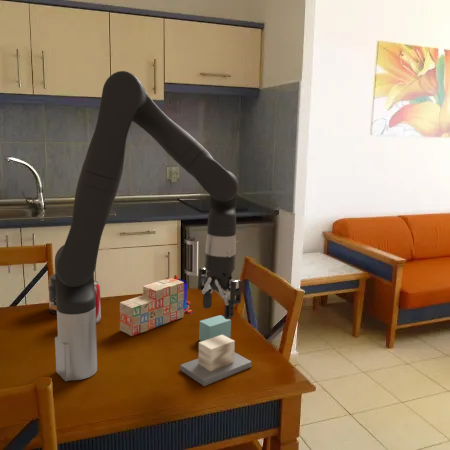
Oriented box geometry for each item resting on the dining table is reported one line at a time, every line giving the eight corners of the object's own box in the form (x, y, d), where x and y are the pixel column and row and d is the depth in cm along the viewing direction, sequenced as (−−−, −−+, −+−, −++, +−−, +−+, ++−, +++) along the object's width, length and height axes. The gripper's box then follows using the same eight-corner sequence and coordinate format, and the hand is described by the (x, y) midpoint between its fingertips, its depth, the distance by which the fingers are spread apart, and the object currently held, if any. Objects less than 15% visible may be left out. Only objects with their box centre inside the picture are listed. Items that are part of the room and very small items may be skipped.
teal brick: (209, 346, 138) (210, 326, 137) (199, 340, 142) (199, 321, 140) (230, 338, 143) (231, 320, 142) (219, 333, 147) (220, 315, 146)
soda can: (83, 328, 147) (82, 288, 145) (73, 320, 152) (72, 281, 150) (104, 322, 152) (104, 283, 149) (94, 315, 157) (93, 277, 155)
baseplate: (204, 386, 116) (204, 380, 116) (180, 370, 123) (180, 364, 123) (251, 366, 126) (251, 361, 126) (226, 352, 134) (227, 348, 133)
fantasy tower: (158, 303, 170) (158, 270, 168) (191, 301, 173) (191, 270, 170) (159, 315, 159) (159, 281, 157) (194, 314, 161) (195, 280, 159)
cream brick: (210, 371, 120) (211, 349, 119) (198, 363, 124) (198, 342, 123) (234, 362, 125) (234, 340, 124) (221, 355, 129) (222, 334, 128)
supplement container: (45, 308, 162) (43, 274, 160) (75, 302, 168) (74, 269, 166) (54, 318, 154) (53, 282, 152) (86, 311, 160) (85, 277, 158)
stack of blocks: (132, 337, 142) (131, 298, 139) (119, 330, 146) (118, 292, 143) (184, 316, 158) (184, 281, 155) (171, 311, 162) (171, 276, 159)
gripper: (191, 247, 121) (189, 307, 124) (227, 260, 111) (224, 325, 114) (214, 243, 126) (211, 301, 129) (251, 256, 116) (247, 318, 119)
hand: (217, 313), depth 122 cm, fingers open, 8 cm apart
